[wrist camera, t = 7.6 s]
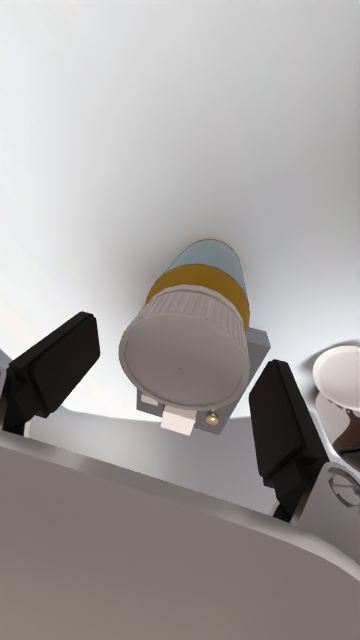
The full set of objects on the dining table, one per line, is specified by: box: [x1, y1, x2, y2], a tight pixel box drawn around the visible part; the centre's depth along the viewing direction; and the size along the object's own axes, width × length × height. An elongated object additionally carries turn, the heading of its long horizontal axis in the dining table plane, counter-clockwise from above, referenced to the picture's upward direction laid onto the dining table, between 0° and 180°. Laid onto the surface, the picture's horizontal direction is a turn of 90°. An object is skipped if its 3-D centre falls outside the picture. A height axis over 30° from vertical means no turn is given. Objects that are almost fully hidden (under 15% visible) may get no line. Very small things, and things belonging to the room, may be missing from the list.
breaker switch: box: [161, 405, 197, 436], centre depth 31 cm, size 5×5×5 cm
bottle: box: [119, 239, 250, 411], centre depth 15 cm, size 7×7×15 cm
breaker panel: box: [137, 305, 271, 435], centre depth 29 cm, size 16×22×4 cm
